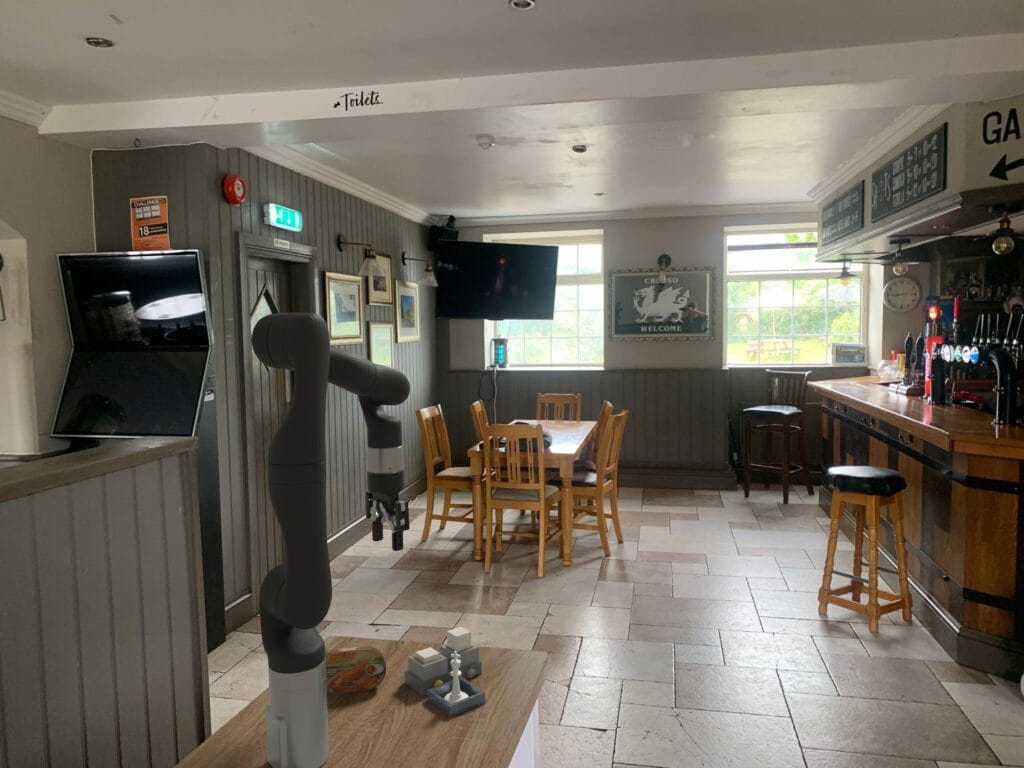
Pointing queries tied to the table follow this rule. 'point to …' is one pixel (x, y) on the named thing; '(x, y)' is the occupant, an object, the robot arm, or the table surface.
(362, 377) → the robot arm
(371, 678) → the tin
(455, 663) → the chess piece
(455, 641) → the breaker
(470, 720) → the table surface
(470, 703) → the frame
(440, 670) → the yellow-knobbed grey box
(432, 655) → the white square block
